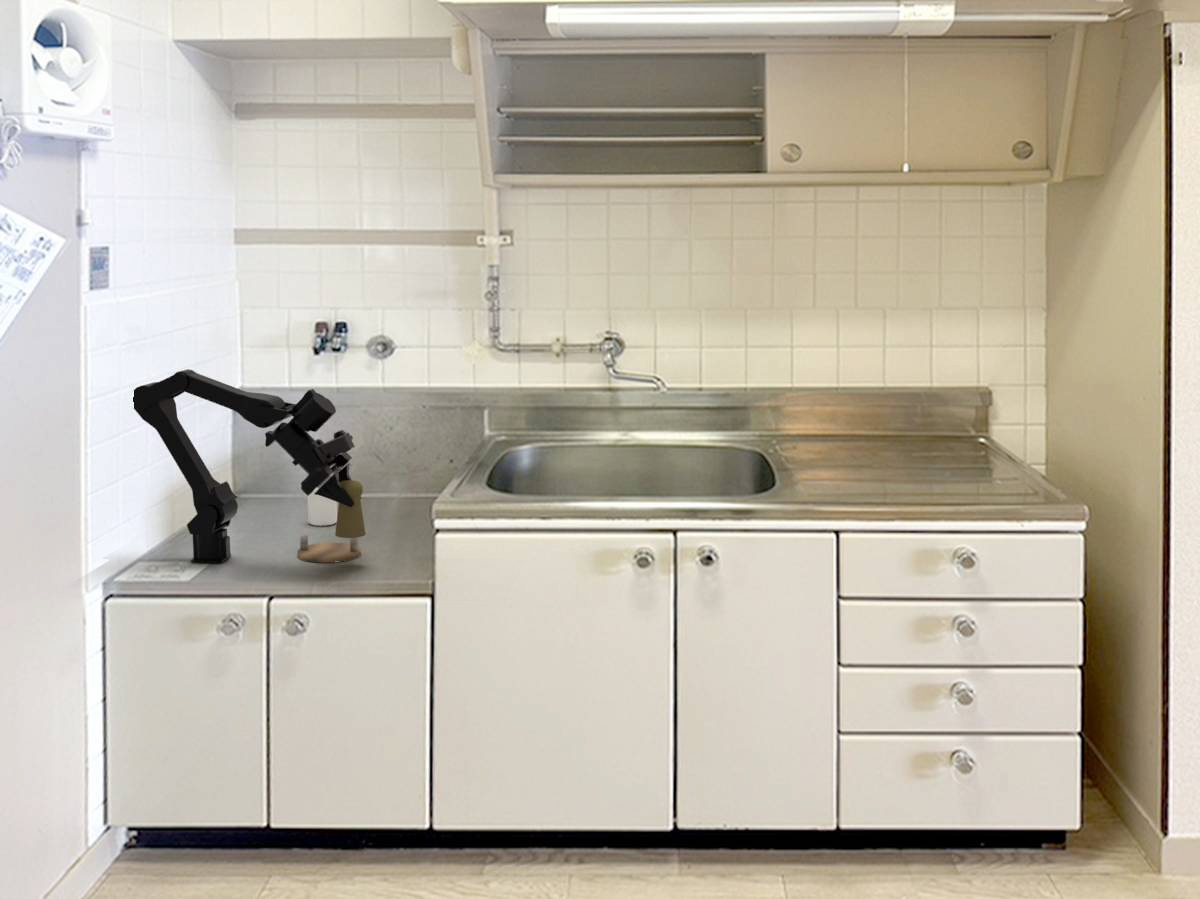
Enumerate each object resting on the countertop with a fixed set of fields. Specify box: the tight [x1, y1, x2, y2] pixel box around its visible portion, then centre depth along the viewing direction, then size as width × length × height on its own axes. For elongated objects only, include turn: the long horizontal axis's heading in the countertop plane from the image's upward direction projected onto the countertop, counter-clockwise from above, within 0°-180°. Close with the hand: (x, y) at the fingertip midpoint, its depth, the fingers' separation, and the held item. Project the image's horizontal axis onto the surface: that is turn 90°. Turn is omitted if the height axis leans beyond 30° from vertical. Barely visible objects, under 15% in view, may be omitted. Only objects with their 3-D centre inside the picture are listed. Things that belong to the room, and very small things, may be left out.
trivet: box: [296, 534, 362, 563], centre depth 298 cm, size 13×13×4 cm
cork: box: [334, 479, 366, 539], centre depth 288 cm, size 6×6×11 cm
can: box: [307, 487, 338, 527], centre depth 325 cm, size 6×6×12 cm
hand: (356, 502), depth 287 cm, fingers closed on cork, 5 cm apart
